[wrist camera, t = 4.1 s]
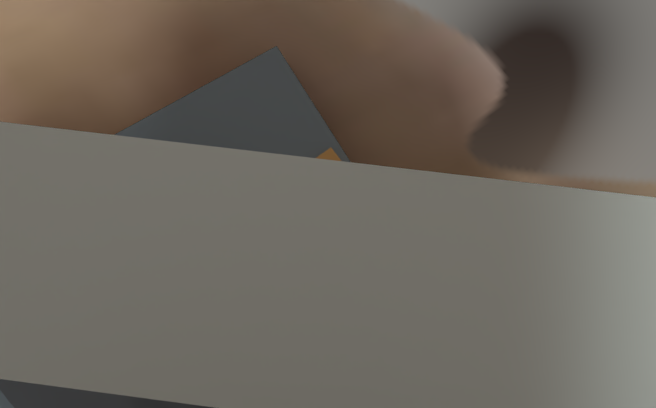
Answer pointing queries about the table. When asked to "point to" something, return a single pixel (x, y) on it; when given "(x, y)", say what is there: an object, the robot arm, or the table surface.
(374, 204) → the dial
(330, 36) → the table surface
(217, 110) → the dial plate
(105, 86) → the table surface
